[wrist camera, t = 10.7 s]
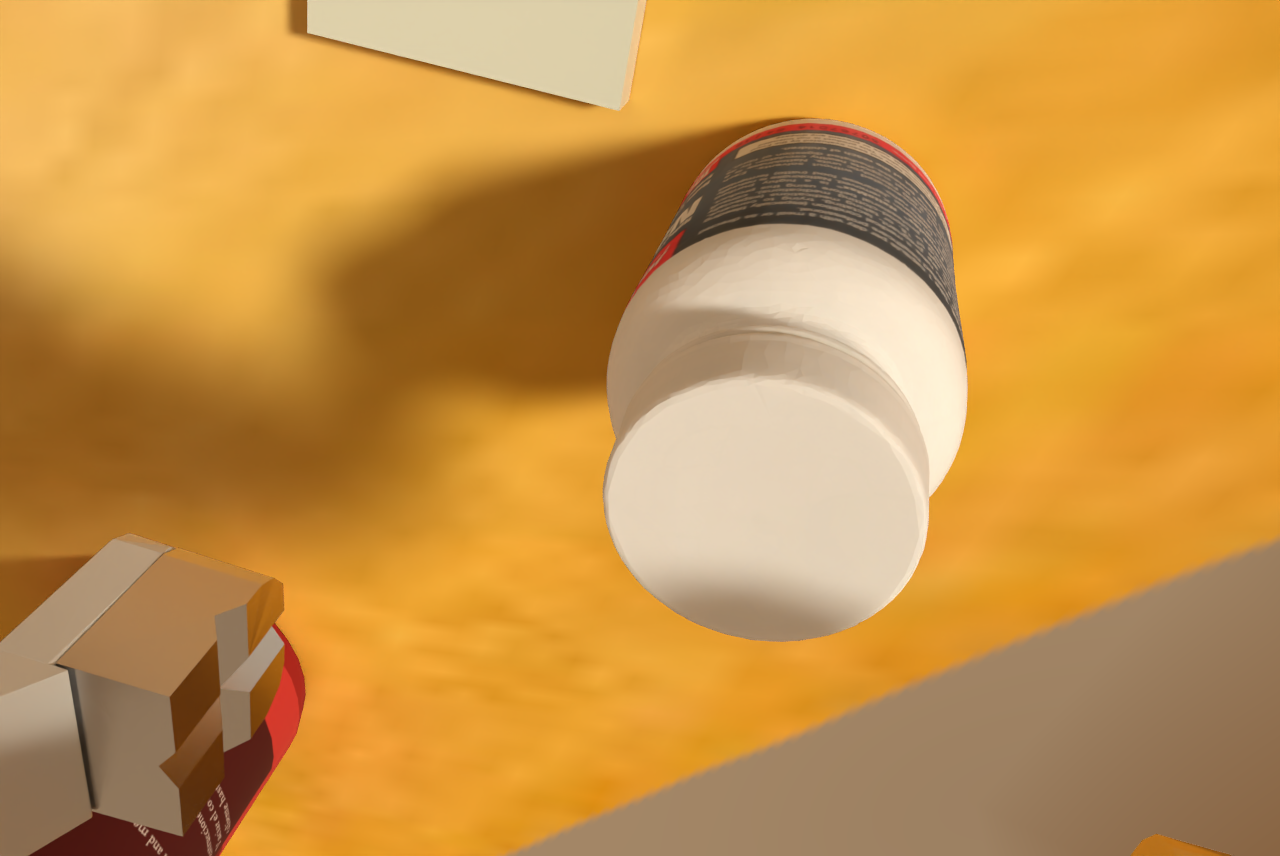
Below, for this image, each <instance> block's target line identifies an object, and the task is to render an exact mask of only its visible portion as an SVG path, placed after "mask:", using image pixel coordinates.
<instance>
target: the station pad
mask: <svg viewBox="0 0 1280 856" xmlns="http://www.w3.org/2000/svg"><path fill="white" fill-rule="evenodd" d="M646 1H647V0H307V33H310V34H314V35H318V36H322V37H326V38H330V39H334V40H338V41H342V42H346V43H350V44H354V45H358V46H362V47H366V48H370V49H374V50H378V51H382V52H386V53H390V54H394V55H398V56H402V57H406V58H410V59H414V60H418V61H422V62H426V63H430V64H434V65H438V66H442V67H446V68H450V69H454V70H458V71H462V72H466V73H470V74H474V75H478V76H482V77H486V78H490V79H494V80H498V81H502V82H506V83H510V84H514V85H518V86H522V87H526V88H530V89H534V90H538V91H542V92H546V93H550V94H554V95H558V96H562V97H566V98H570V99H574V100H578V101H582V102H586V103H590V104H594V105H598V106H602V107H606V108H610V109H614V110H618V111H620V109H621V108H622V107H623V106H624V105H625V104H626V103H627V102H628V101H629V97H630V92H631V86H632V80H633V75H634V69H635V63H636V57H637V52H638V46H639V40H640V35H641V29H642V23H643V18H644V12H645V6H646Z"/></svg>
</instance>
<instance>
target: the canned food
mask: <svg viewBox="0 0 1280 856" xmlns="http://www.w3.org/2000/svg"><path fill="white" fill-rule="evenodd" d="M272 627H273V628H274V630H275V631H276V633H277V634H278V635H279V637H280V638H281V640H282V641H283V643H284V666H283V671H282V676H281V681H280V685H279V688H278V690H277V692H276V695H275V697H274V699H273V702H272V704H271V706H270V709H269V711H268V713H267V715H266V717H265V718H264V720H263V721H262V723H261V724H260V726H259V727H258V729H257V730H256V732H255V733H254V735H253V736H252V738H251V739H250V740H248V741H246V742H244V743H242V744H240V745H238V746H236V747H233V748H231V749H229V750H227V751H225V752H224V775H225V777H224V779H223V780H222V781H221V783H220V784H219V786H218V787H217V789H216V790H215V791H214V793H213V794H212V796H211V797H210V799H209V800H208V802H207V803H206V804H205V806H204V807H203V809H202V810H201V812H200V813H199V814H198V816H197V817H196V819H195V820H194V822H193V823H192V824H191V826H190V827H189V829H188V830H187V832H186V833H185V834H184V836H183V837H182V836H179V835H175V834H172V833H168V832H164V831H161V830H157V829H154V828H150V827H147V826H143V825H140V824H136V823H132V822H129V821H125V820H122V819H118V818H115V817H111V816H108V815H104V814H100V813H97V812H93V811H92V818H90V819H88V820H87V821H85V822H83V823H82V824H80V825H78V826H77V827H75V828H73V829H72V830H70V831H68V832H67V833H65V834H63V835H62V836H60V837H58V838H57V839H55V840H53V841H52V842H50V843H48V844H47V845H45V846H43V847H42V848H40V849H38V850H37V851H35V852H33V853H32V854H30V855H28V856H220V854H221V853H222V851H223V850H224V848H225V846H226V845H227V843H228V842H229V840H230V839H231V837H232V835H233V834H234V832H235V831H236V829H237V828H238V826H239V825H240V823H241V821H242V820H243V818H244V817H245V815H246V814H247V812H248V811H249V809H250V807H251V806H252V804H253V803H254V801H255V800H256V798H257V796H258V795H259V793H260V792H261V790H262V789H263V787H264V786H265V784H266V782H267V781H268V779H269V778H270V776H271V775H272V773H273V772H274V770H275V768H276V767H277V765H278V764H279V762H280V761H281V759H282V757H283V756H284V754H285V753H286V751H287V750H288V748H289V746H290V745H291V743H292V741H293V739H294V737H295V735H296V733H297V730H298V726H299V722H300V718H301V714H302V710H303V705H304V700H305V695H306V694H305V682H304V675H303V672H302V669H301V666H300V663H299V660H298V658H297V656H296V654H295V652H294V651H293V649H292V647H291V645H290V643H289V641H288V640H287V639H286V637H285V636H284V635H283V634H282V632H281V631H280V630H279V628H278V627H277V626H276V625H275V623H274V624H273V626H272Z"/></svg>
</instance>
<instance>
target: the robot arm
mask: <svg viewBox="0 0 1280 856" xmlns="http://www.w3.org/2000/svg"><path fill="white" fill-rule="evenodd" d="M283 611H284V595H283V583H281V582H279V581H278V580H276V579H275V578H272V577H269V576H266V575H263V574H260V573H257V572H253V571H250V570H247V569H244V568H241V567H238V566H235V565H232V564H228V563H225V562H222V561H219V560H216V559H213V558H210V557H206V556H203V555H200V554H197V553H194V552H191V551H188V550H185V549H181V548H175V547H172V546H169V545H166V544H163V543H160V542H156V541H153V540H150V539H147V538H144V537H141V536H138V535H134V534H131V533H128V534H125V535H123V536H120V537H117V538H114V539H112V540H111V541H109V542H108V543H107V544H106V545H105V546H104V547H103V548H102V549H101V550H100V551H99V552H97V553H96V554H95V555H94V556H93V557H92V558H91V559H90V560H89V561H88V562H87V563H85V564H84V565H83V566H82V567H81V568H80V569H79V570H78V571H77V572H76V573H75V574H74V575H72V576H71V577H70V578H69V579H68V580H67V581H66V582H65V583H64V584H63V585H62V586H60V587H59V588H58V589H57V590H56V591H55V592H54V593H53V594H52V595H51V596H50V597H48V598H47V599H46V600H45V601H44V602H43V603H42V604H41V605H40V606H39V607H38V608H36V609H35V610H34V611H33V612H32V613H31V614H30V615H29V616H28V617H27V618H26V619H25V620H23V621H22V622H21V623H20V624H19V625H18V626H17V627H16V628H15V629H14V630H13V631H11V632H10V633H9V634H8V635H7V636H6V637H5V638H4V639H3V640H2V641H1V642H0V856H28V855H30V854H32V853H33V852H35V851H37V850H38V849H40V848H42V847H43V846H45V845H47V844H48V843H50V842H52V841H53V840H55V839H57V838H58V837H60V836H62V835H63V834H65V833H67V832H68V831H70V830H72V829H73V828H75V827H77V826H78V825H80V824H82V823H83V822H85V821H87V820H88V819H90V818H92V811H93V812H97V813H100V814H104V815H108V816H111V817H115V818H118V819H122V820H125V821H129V822H132V823H136V824H140V825H143V826H147V827H150V828H154V829H157V830H161V831H164V832H168V833H172V834H175V835H179V836H182V837H183V836H184V834H185V833H186V832H187V830H188V829H189V827H190V826H191V824H192V823H193V822H194V820H195V819H196V817H197V816H198V814H199V813H200V812H201V810H202V809H203V807H204V806H205V804H206V803H207V802H208V800H209V799H210V797H211V796H212V794H213V793H214V791H215V790H216V789H217V787H218V786H219V784H220V783H221V781H222V780H223V779H224V777H225V775H224V752H225V751H227V750H229V749H231V748H233V747H236V746H238V745H240V744H242V743H244V742H246V741H248V740H250V739H251V738H252V736H253V735H254V733H255V732H256V730H257V729H258V727H259V726H260V724H261V723H262V721H263V720H264V718H265V717H266V715H267V713H268V711H269V709H270V706H271V704H272V702H273V699H274V697H275V695H276V692H277V690H278V688H279V685H280V681H281V676H282V671H283V666H284V643H283V641H282V640H281V638H280V637H279V635H278V634H277V633H276V631H275V630H274V628H273V627H272V626H273V624H274V623H275V622H276V620H277V619H278V618H279V616H280V615H281V614H282V612H283ZM1131 856H1234V855H1230V854H1226V853H1223V852H1219V851H1215V850H1212V849H1209V848H1205V847H1201V846H1198V845H1194V844H1191V843H1187V842H1184V841H1180V840H1176V839H1173V838H1169V837H1166V836H1162V835H1158V834H1155V835H1153V836H1151V837H1149V838H1146V839H1144V840H1142V841H1141V843H1140V844H1139V845H1138V846H1137V848H1136V849H1135V850H1134V852H1133V853H1132V854H1131Z"/></svg>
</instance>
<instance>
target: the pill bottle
mask: <svg viewBox="0 0 1280 856" xmlns="http://www.w3.org/2000/svg"><path fill="white" fill-rule="evenodd" d="M967 388H968V384H967V366H966V355H965V347H964V341H963V334H962V328H961V321H960V315H959V308H958V301H957V294H956V287H955V275H954V263H953V249H952V239H951V233H950V227H949V222H948V219H947V215H946V212H945V209H944V206H943V203H942V200H941V198H940V196H939V194H938V192H937V190H936V188H935V186H934V185H933V183H932V181H931V180H930V178H929V176H928V175H927V174H926V172H925V171H924V170H923V169H922V168H921V166H920V165H919V164H918V163H917V162H916V161H915V160H914V159H913V158H912V157H911V156H910V155H909V154H908V153H906V152H905V151H904V150H903V149H902V148H900V147H899V146H898V145H896V144H895V143H893V142H892V141H890V140H889V139H887V138H886V137H884V136H881V135H879V134H877V133H875V132H873V131H871V130H868V129H866V128H863V127H860V126H857V125H854V124H851V123H847V122H842V121H836V120H830V119H798V120H790V121H785V122H781V123H777V124H773V125H770V126H766V127H764V128H761V129H758V130H756V131H754V132H752V133H750V134H748V135H746V136H744V137H742V138H740V139H738V140H737V141H735V142H734V143H732V144H731V145H729V146H728V147H726V148H725V149H724V150H723V151H721V152H720V153H719V154H718V155H717V156H716V157H714V158H713V159H712V160H711V161H710V162H709V163H708V165H707V166H706V167H705V168H704V169H703V170H702V172H701V173H700V174H699V176H698V177H697V178H696V180H695V181H694V183H693V184H692V186H691V188H690V189H689V191H688V192H687V194H686V196H685V198H684V200H683V202H682V204H681V206H680V208H679V210H678V212H677V213H676V215H675V217H674V219H673V221H672V223H671V225H670V227H669V229H668V231H667V233H666V235H665V237H664V238H663V240H662V242H661V244H660V246H659V248H658V249H657V251H656V253H655V255H654V257H653V259H652V261H651V263H650V265H649V267H648V268H647V270H646V272H645V274H644V275H643V277H642V279H641V281H640V282H639V284H638V286H637V287H636V289H635V291H634V293H633V295H632V297H631V299H630V301H629V303H628V305H627V307H626V309H625V312H624V314H623V316H622V318H621V321H620V323H619V326H618V328H617V331H616V334H615V337H614V340H613V343H612V347H611V352H610V356H609V361H608V368H607V399H608V407H609V412H610V418H611V422H612V427H613V430H614V433H615V436H616V441H615V444H614V446H613V449H612V452H611V454H610V457H609V460H608V462H607V467H606V471H605V475H604V483H603V502H604V513H605V518H606V523H607V526H608V530H609V533H610V536H611V538H612V541H613V543H614V545H615V548H616V550H617V552H618V553H619V555H620V557H621V559H622V560H623V562H624V563H625V565H626V566H627V568H628V569H629V570H630V572H631V573H632V574H633V576H634V577H635V578H636V580H637V581H638V582H639V583H640V584H641V585H642V586H643V587H644V588H645V589H646V590H647V591H648V592H650V593H651V594H652V595H653V596H654V597H655V598H657V599H658V600H659V601H660V602H662V603H663V604H665V605H666V606H667V607H669V608H670V609H671V610H673V611H674V612H676V613H677V614H679V615H681V616H683V617H685V618H687V619H688V620H690V621H692V622H694V623H696V624H699V625H701V626H704V627H706V628H709V629H712V630H714V631H717V632H720V633H724V634H727V635H731V636H736V637H741V638H746V639H750V640H760V641H780V642H784V641H800V640H806V639H811V638H817V637H822V636H827V635H831V634H834V633H837V632H840V631H842V630H845V629H848V628H850V627H853V626H856V625H857V624H858V623H860V622H862V621H864V620H866V619H868V618H869V617H871V616H872V615H874V614H875V613H877V612H878V611H879V610H881V609H882V608H884V607H885V606H886V605H887V604H888V603H890V602H891V601H892V600H893V599H894V598H895V597H896V596H897V595H898V594H899V593H900V592H901V591H902V589H903V588H904V586H905V585H906V584H907V582H908V581H909V579H910V578H911V577H912V575H913V573H914V571H915V569H916V567H917V565H918V562H919V560H920V557H921V555H922V553H923V550H924V548H925V541H926V535H927V529H928V520H929V497H930V496H931V495H932V494H933V493H934V492H935V490H936V489H937V488H938V486H939V485H940V484H941V482H942V480H943V479H944V477H945V475H946V474H947V472H948V470H949V468H950V466H951V465H952V463H953V461H954V459H955V456H956V453H957V451H958V448H959V445H960V442H961V438H962V434H963V430H964V425H965V419H966V411H967Z"/></svg>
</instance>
